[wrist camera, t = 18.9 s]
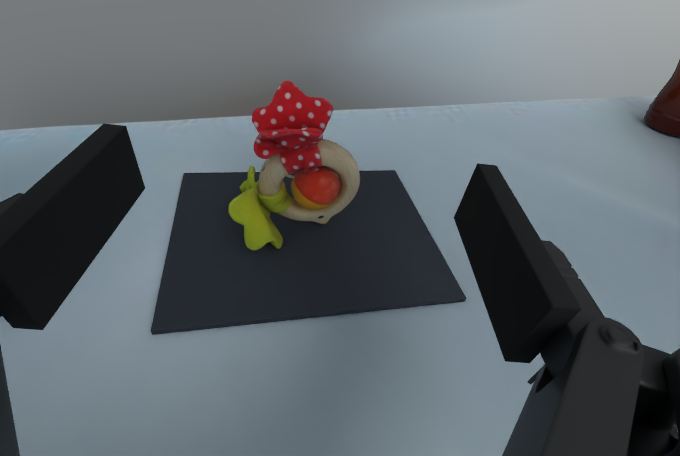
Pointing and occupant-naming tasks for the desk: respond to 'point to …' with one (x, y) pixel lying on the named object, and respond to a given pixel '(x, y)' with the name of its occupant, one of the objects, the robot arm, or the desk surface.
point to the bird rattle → (293, 168)
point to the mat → (297, 259)
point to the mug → (666, 108)
